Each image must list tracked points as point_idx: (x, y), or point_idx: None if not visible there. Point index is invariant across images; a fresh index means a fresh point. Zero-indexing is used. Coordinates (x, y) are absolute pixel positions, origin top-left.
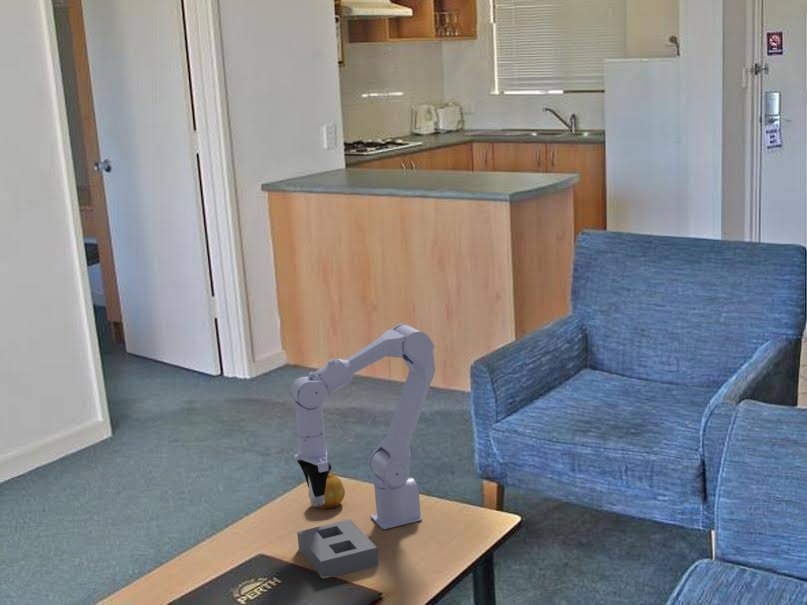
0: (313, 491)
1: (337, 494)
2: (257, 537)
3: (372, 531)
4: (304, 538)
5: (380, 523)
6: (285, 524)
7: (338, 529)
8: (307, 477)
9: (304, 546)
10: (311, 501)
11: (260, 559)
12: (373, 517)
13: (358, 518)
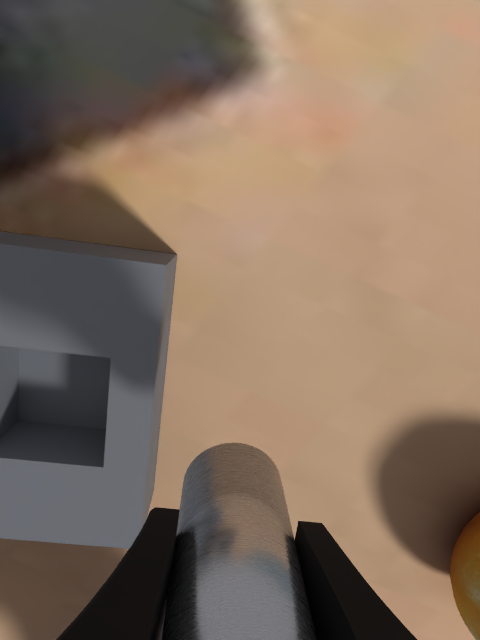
0: (139, 535)
1: (466, 613)
2: (439, 139)
3: None
4: (49, 260)
5: None
6: (469, 315)
7: (78, 459)
8: (341, 632)
9: (43, 244)
10: (227, 461)
11: (190, 38)
12: None
13: None
